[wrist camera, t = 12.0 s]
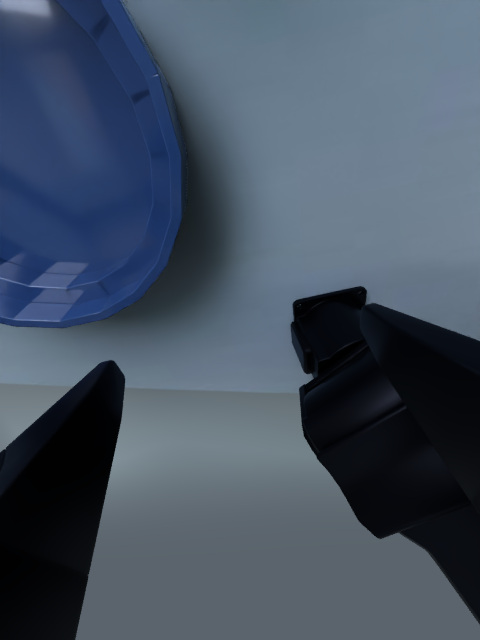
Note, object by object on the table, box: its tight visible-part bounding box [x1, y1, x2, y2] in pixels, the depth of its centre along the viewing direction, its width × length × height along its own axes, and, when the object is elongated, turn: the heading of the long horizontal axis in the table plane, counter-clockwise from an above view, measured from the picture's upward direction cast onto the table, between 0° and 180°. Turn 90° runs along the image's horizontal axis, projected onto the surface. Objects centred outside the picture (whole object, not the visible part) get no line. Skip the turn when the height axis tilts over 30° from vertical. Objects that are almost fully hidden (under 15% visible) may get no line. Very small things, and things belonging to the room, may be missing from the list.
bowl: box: [0, 0, 187, 328], centre depth 13 cm, size 18×18×4 cm
